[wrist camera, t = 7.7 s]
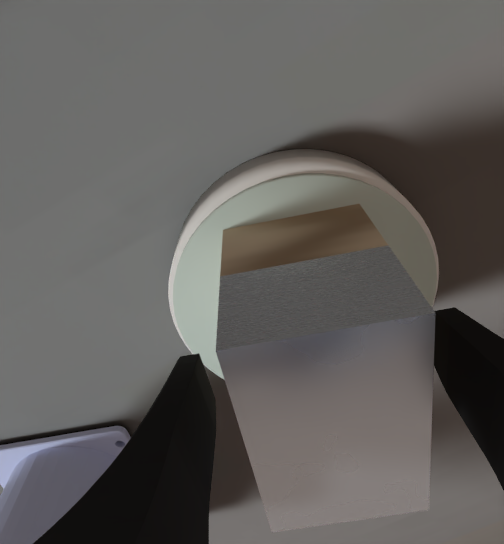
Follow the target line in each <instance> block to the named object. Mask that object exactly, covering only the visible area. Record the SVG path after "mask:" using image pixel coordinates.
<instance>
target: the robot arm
mask: <svg viewBox="0 0 504 544" xmlns="http://www.w3.org/2000/svg"><path fill="white" fill-rule="evenodd" d="M434 366H435V368H436V371H437V373H438V375H439V378H440V380H441V382H442V384H443V386H444V388H445V391H446V393H447V394H448V396H449V398H450V399H451V401H452V403H453V404H454V406H455V408H456V409H457V411H458V412H459V414H460V416H461V417H462V419H463V421H464V422H465V424H466V425H467V427H468V429H469V430H470V432H471V434H472V435H473V437H474V438H475V440H476V442H477V443H478V445H479V447H480V448H481V450H482V451H483V453H484V455H485V456H486V458H487V460H488V461H489V463H490V465H491V467H492V468H493V470H494V472H495V474H496V476H497V478H498V480H499V482H500V484H501V486H502V488H503V490H504V339H503V338H501V337H500V336H498V335H496V334H495V333H493V332H492V331H490V330H489V329H487V328H485V327H484V326H482V325H481V324H479V323H478V322H476V321H475V320H473V319H472V318H470V317H469V316H467V315H466V314H464V313H463V312H461V311H459V310H458V309H456V308H449V309H444V310H438V311H435V342H434ZM215 437H216V406H215V397H214V394H213V391H212V388H211V386H210V383H209V380H208V377H207V374H206V371H205V368H204V365H203V363H202V360H201V357H200V354H199V353H198V354H193V355H187V356H182V357H180V358H179V359H178V361H177V363H176V365H175V366H174V368H173V370H172V372H171V374H170V376H169V377H168V379H167V381H166V383H165V385H164V386H163V388H162V390H161V392H160V393H159V395H158V397H157V398H156V400H155V402H154V403H153V405H152V407H151V408H150V410H149V412H148V413H147V415H146V416H145V418H144V419H143V421H142V422H141V424H140V425H139V427H138V428H137V430H136V431H135V433H134V434H133V436H132V437H130V435H129V433H128V431H127V430H126V429H125V428H124V427H122V426H111V427H106V428H100V429H94V430H88V431H82V432H76V433H70V434H64V435H58V436H52V437H47V438H41V439H35V440H29V441H23V442H17V443H11V444H5V445H0V485H1V486H2V487H3V488H4V490H3V492H2V494H1V496H0V544H209V501H210V490H211V480H212V470H213V459H214V448H215Z"/></svg>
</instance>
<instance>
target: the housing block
mask: <svg viewBox="0 0 504 544" xmlns="http://www.w3.org/2000/svg"><path fill="white" fill-rule="evenodd" d="M434 342H435V311H434V310H433V309H432V307H431V306H430V304H429V303H428V301H427V300H426V299H425V297H424V296H423V294H422V293H421V291H420V290H419V288H418V287H417V286H416V284H415V283H414V281H413V280H412V278H411V277H410V276H409V274H408V273H407V271H406V270H405V268H404V267H403V265H402V264H401V263H400V261H399V260H398V258H397V257H396V255H395V254H394V253H393V251H392V250H391V248H390V247H389V245H388V244H387V243H386V241H385V240H384V238H383V237H382V235H381V234H380V232H379V231H378V230H377V228H376V227H375V225H374V224H373V222H372V221H371V220H370V218H369V217H368V215H367V214H366V212H365V211H364V209H363V208H362V207H361V205H360V204H355V205H349V206H344V207H339V208H334V209H329V210H324V211H318V212H313V213H308V214H303V215H298V216H292V217H287V218H282V219H277V220H272V221H267V222H261V223H256V224H251V225H246V226H241V227H235V228H230V229H225V230H223V237H222V253H221V270H220V287H219V304H218V320H217V337H216V354H217V357H218V360H219V363H220V366H221V370H222V373H223V376H224V379H225V383H226V386H227V389H228V392H229V395H230V399H231V402H232V405H233V408H234V412H235V415H236V418H237V421H238V424H239V428H240V431H241V434H242V437H243V440H244V444H245V447H246V450H247V453H248V457H249V460H250V463H251V466H252V469H253V473H254V476H255V479H256V482H257V486H258V489H259V492H260V495H261V498H262V502H263V505H264V508H265V511H266V514H267V518H268V521H269V524H270V527H271V531H272V532H279V531H286V530H293V529H300V528H307V527H314V526H321V525H328V524H335V523H342V522H349V521H356V520H363V519H370V518H377V517H384V516H391V515H398V514H405V513H412V512H419V511H426V510H429V491H430V461H431V431H432V402H433V372H434Z"/></svg>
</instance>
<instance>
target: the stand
mask: <svg viewBox="0 0 504 544" xmlns="http://www.w3.org/2000/svg"><path fill="white" fill-rule="evenodd" d="M355 204H360V205H361V207H362V208H363V209H364V211H365V212H366V214H367V215H368V217H369V218H370V220H371V221H372V222H373V224H374V225H375V227H376V228H377V230H378V231H379V232H380V234H381V235H382V237H383V238H384V240H385V241H386V243H387V244H388V245H389V247H390V248H391V250H392V251H393V253H394V254H395V255H396V257H397V258H398V260H399V261H400V263H401V264H402V265H403V267H404V268H405V270H406V271H407V273H408V274H409V276H410V277H411V278H412V280H413V281H414V283H415V284H416V286H417V287H418V288H419V290H420V291H421V293H422V294H423V296H424V297H425V299H426V300H427V301H428V303H429V304H430V306H431V307H432V306H433V304H434V300H435V297H436V293H437V289H438V279H439V263H438V255H437V251H436V246H435V243H434V240H433V238H432V235H431V233H430V230H429V228H428V227H427V225H426V223H425V222H424V220H423V218H422V217H421V215H420V214H419V213H418V212H417V210H416V209H415V208H414V207H413V206H412V205H411V203H410V202H409V201H408V200H407V199H406V198H405V197H404V196H403V195H402V194H401V193H400V192H399V191H398V190H397V189H396V188H395V187H394V186H393V185H392V184H391V183H390V182H389V181H388V180H387V179H385V178H384V177H383V176H382V175H381V174H380V173H378V172H377V171H376V170H374V169H372V168H371V167H369V166H368V165H366V164H364V163H363V162H360V161H358V160H356V159H353V158H351V157H349V156H346V155H342V154H338V153H335V152H331V151H324V150H316V149H293V150H286V151H279V152H274V153H270V154H267V155H263V156H260V157H257V158H255V159H252V160H250V161H248V162H245V163H243V164H241V165H239V166H237V167H236V168H234V169H232V170H231V171H229V172H227V173H226V174H225V175H223V176H222V177H221V178H219V179H218V180H217V181H216V182H214V183H213V184H212V185H211V186H210V187H209V188H208V189H207V190H206V191H205V192H204V193H203V194H202V195H201V197H200V198H199V199H198V201H197V202H196V203H195V205H194V206H193V208H192V209H191V211H190V213H189V215H188V216H187V218H186V220H185V222H184V224H183V227H182V230H181V233H180V236H179V239H178V243H177V247H176V250H175V254H174V258H173V262H172V266H171V271H170V276H169V290H168V296H169V304H170V311H171V314H172V318H173V321H174V324H175V326H176V328H177V331H178V333H179V335H180V337H181V338H182V340H183V342H184V343H185V345H186V346H187V348H188V349H189V350H190V351H191V352H192V354H198V353H199V354H200V357H201V360H202V363H203V364H204V365H205V366H206V367H207V368H208V369H209V370H211V371H212V372H213V373H215V374H216V375H218V376H219V377H221V378H222V379H224V376H223V373H222V370H221V366H220V363H219V360H218V357H217V354H216V337H217V320H218V304H219V287H220V270H221V253H222V237H223V230H225V229H230V228H235V227H241V226H246V225H251V224H256V223H261V222H267V221H272V220H277V219H282V218H287V217H292V216H298V215H303V214H308V213H313V212H318V211H324V210H329V209H334V208H339V207H344V206H349V205H355ZM224 380H225V379H224Z"/></svg>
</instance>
